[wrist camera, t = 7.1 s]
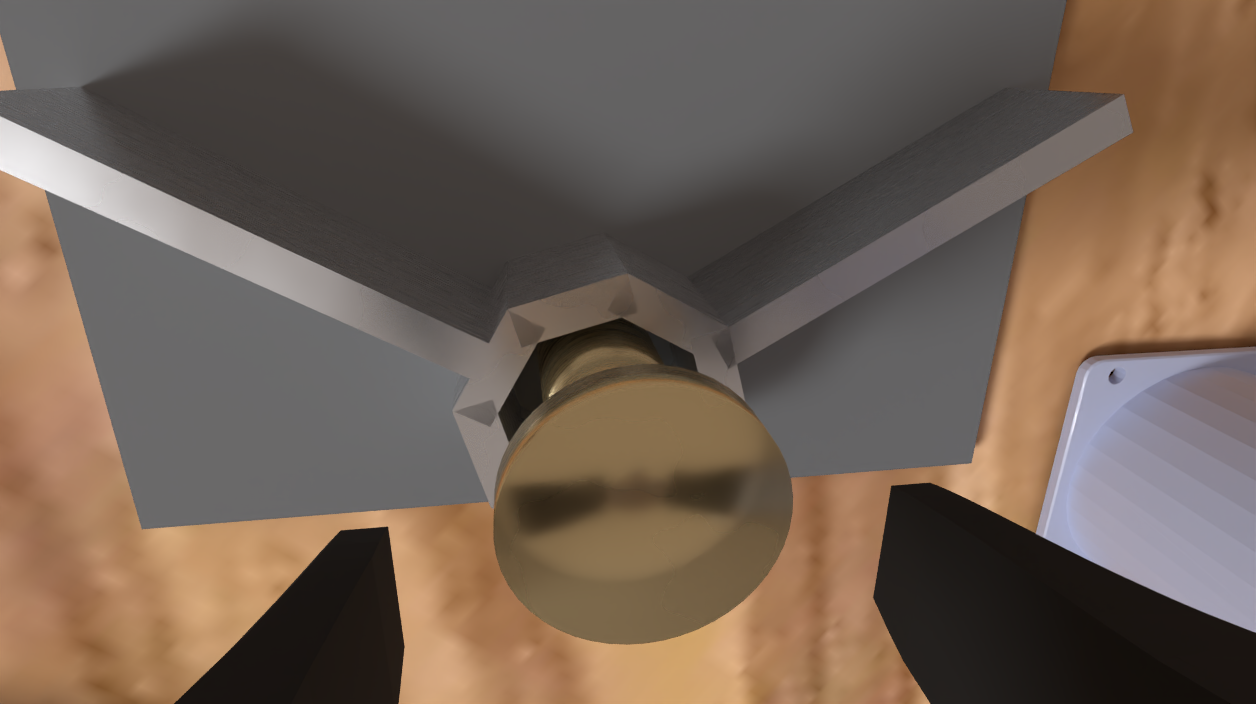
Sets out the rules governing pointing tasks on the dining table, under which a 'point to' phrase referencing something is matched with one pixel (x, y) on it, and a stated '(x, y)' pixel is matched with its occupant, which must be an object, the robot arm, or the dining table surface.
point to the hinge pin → (636, 493)
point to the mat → (518, 214)
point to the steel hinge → (562, 275)
